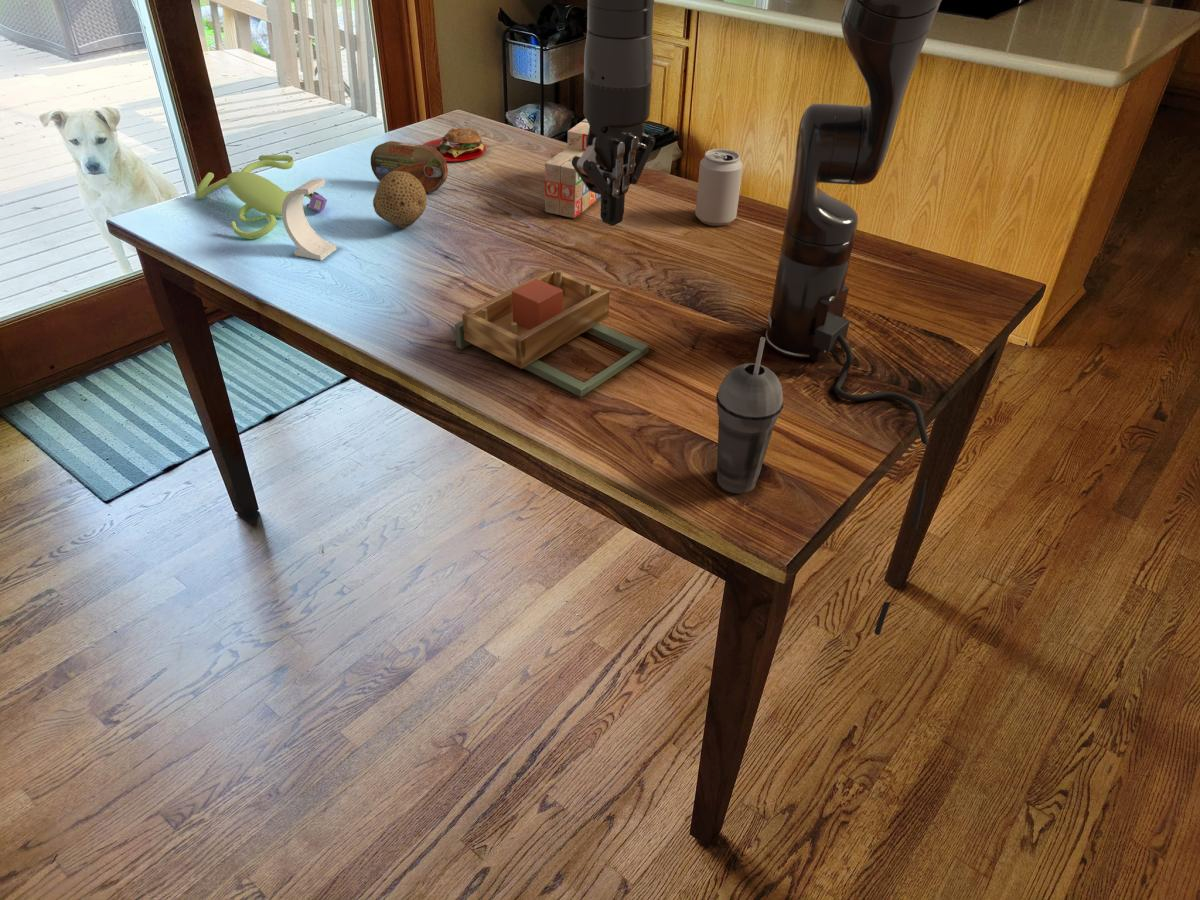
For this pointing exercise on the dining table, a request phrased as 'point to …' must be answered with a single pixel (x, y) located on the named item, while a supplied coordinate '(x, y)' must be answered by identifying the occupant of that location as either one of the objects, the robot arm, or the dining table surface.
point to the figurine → (258, 193)
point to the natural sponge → (400, 199)
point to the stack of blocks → (568, 177)
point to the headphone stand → (304, 224)
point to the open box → (522, 346)
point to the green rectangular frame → (570, 382)
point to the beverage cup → (746, 423)
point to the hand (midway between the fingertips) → (612, 222)
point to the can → (718, 187)
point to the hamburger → (459, 145)
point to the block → (536, 303)
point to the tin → (410, 163)
